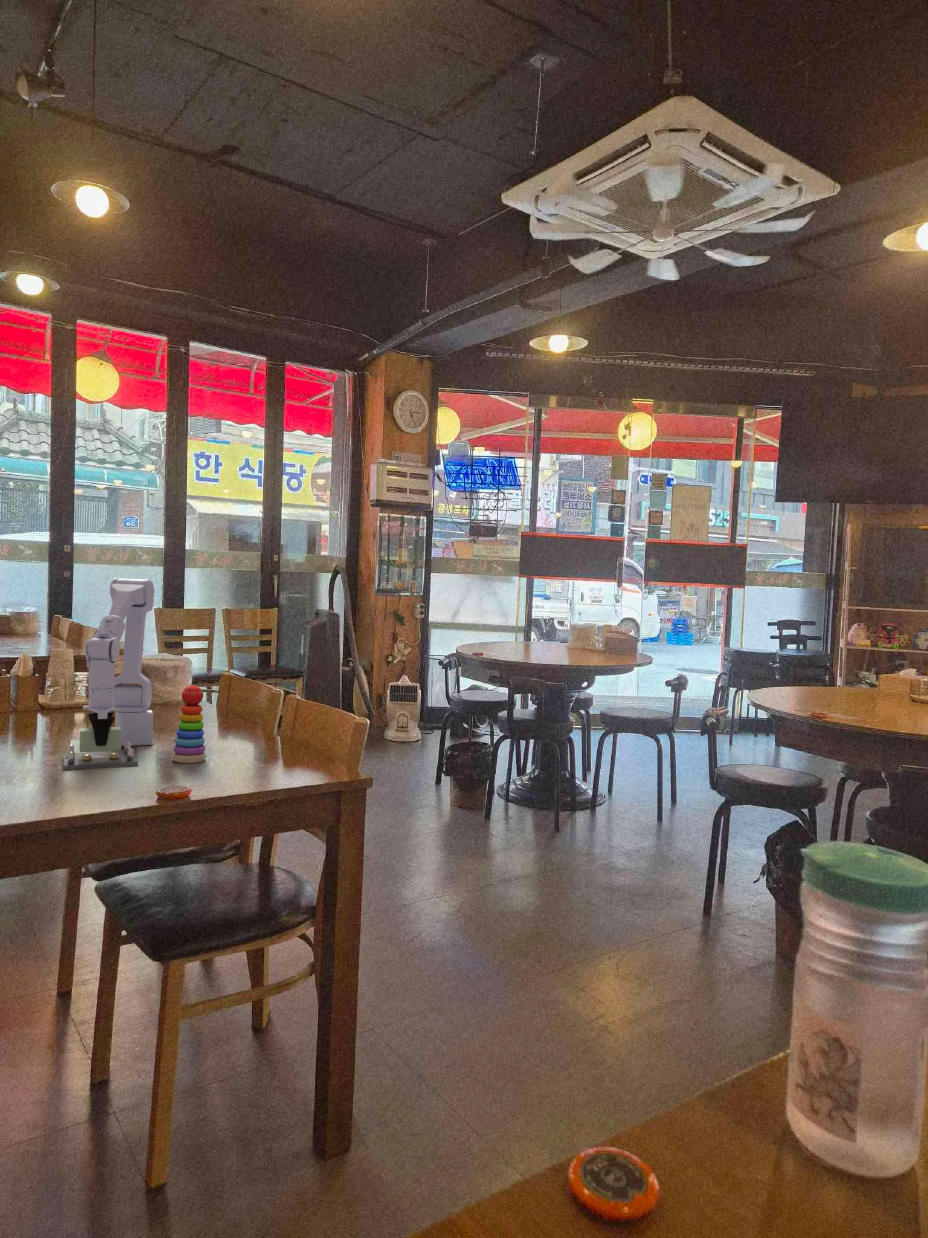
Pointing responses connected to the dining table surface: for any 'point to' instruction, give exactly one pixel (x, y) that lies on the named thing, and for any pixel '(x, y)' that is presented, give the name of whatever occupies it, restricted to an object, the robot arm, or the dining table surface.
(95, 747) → the block
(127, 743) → the plate
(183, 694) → the stacking toy
